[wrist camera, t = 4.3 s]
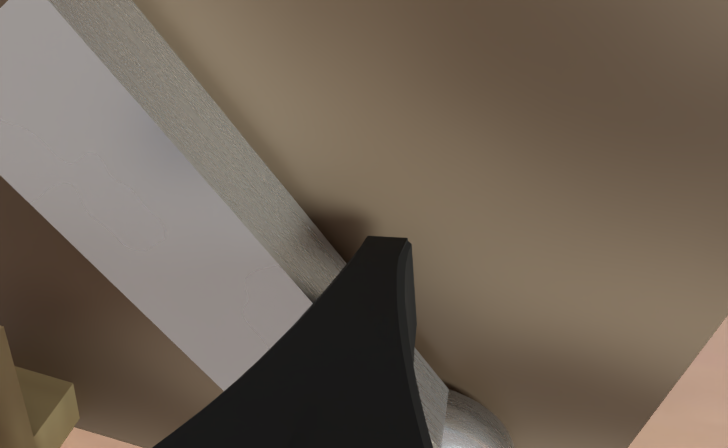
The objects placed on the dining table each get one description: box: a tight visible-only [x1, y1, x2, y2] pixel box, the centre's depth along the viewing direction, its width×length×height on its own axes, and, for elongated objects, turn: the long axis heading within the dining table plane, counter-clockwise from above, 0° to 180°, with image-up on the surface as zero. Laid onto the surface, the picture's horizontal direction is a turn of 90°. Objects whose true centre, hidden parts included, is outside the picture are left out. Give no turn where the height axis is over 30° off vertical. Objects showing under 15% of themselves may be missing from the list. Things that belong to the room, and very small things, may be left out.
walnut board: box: [0, 0, 728, 448], centre depth 11 cm, size 15×20×4 cm
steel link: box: [0, 0, 514, 448], centre depth 11 cm, size 13×4×2 cm, turn 35°
